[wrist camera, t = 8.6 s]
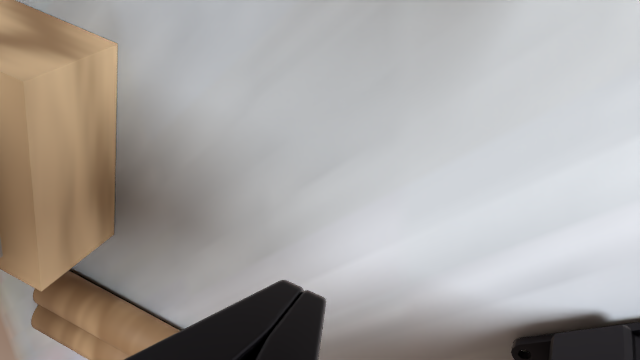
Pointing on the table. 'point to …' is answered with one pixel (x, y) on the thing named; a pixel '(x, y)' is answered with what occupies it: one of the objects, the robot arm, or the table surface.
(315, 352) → the robot arm
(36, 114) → the tan wooden block
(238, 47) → the table surface
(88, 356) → the roller
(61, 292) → the roller
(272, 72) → the table surface
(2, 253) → the grey rectangular block
